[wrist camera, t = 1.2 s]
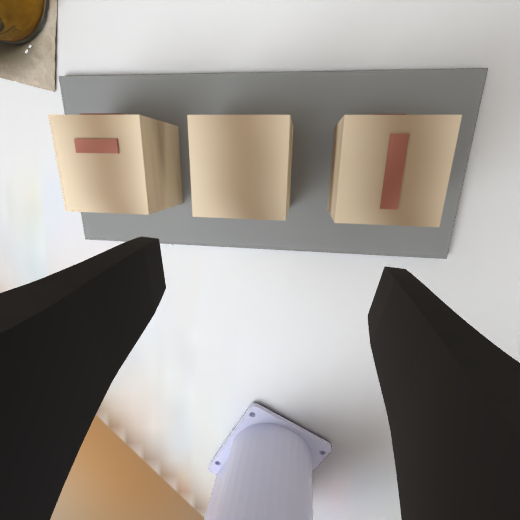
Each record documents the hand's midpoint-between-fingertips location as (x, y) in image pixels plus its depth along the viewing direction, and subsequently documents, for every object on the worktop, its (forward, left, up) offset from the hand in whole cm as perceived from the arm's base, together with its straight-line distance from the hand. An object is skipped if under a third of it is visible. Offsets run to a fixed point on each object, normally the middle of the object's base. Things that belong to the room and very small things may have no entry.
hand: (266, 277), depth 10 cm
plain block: (+2, +4, -11) cm, 12 cm away
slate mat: (+2, +4, -12) cm, 13 cm away
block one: (+5, -3, -11) cm, 13 cm away
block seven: (-2, +10, -11) cm, 15 cm away
